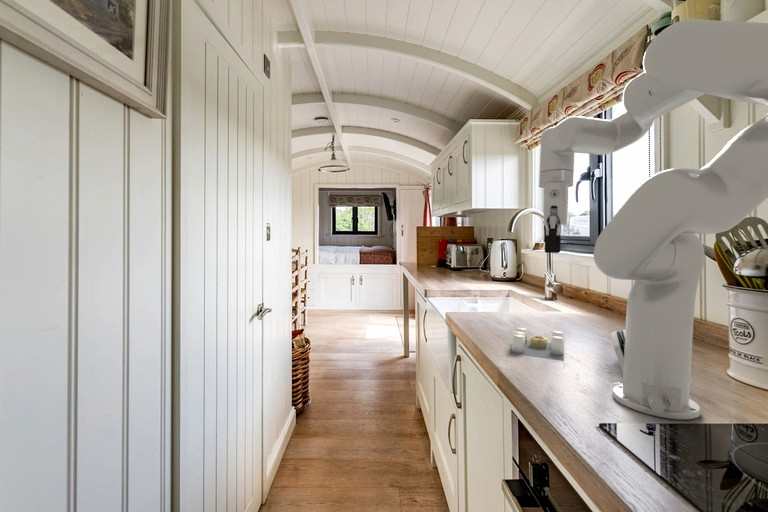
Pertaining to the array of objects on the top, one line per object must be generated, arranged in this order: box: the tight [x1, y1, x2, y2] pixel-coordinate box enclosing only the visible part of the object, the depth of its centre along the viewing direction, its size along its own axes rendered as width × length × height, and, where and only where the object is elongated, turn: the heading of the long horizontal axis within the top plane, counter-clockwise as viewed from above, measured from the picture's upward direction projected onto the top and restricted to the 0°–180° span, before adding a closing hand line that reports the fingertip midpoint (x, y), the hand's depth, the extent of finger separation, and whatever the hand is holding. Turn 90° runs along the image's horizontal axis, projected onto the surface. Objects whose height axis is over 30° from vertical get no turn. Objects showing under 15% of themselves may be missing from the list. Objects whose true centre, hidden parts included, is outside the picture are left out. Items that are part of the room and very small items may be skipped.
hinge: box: [610, 329, 626, 374], centre depth 84 cm, size 17×5×10 cm, turn 149°
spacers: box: [511, 327, 565, 355], centre depth 98 cm, size 13×12×4 cm
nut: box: [530, 335, 548, 348], centre depth 101 cm, size 5×4×2 cm
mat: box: [509, 339, 565, 362], centre depth 99 cm, size 16×12×1 cm
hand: (552, 252), depth 91 cm, fingers open, 8 cm apart
